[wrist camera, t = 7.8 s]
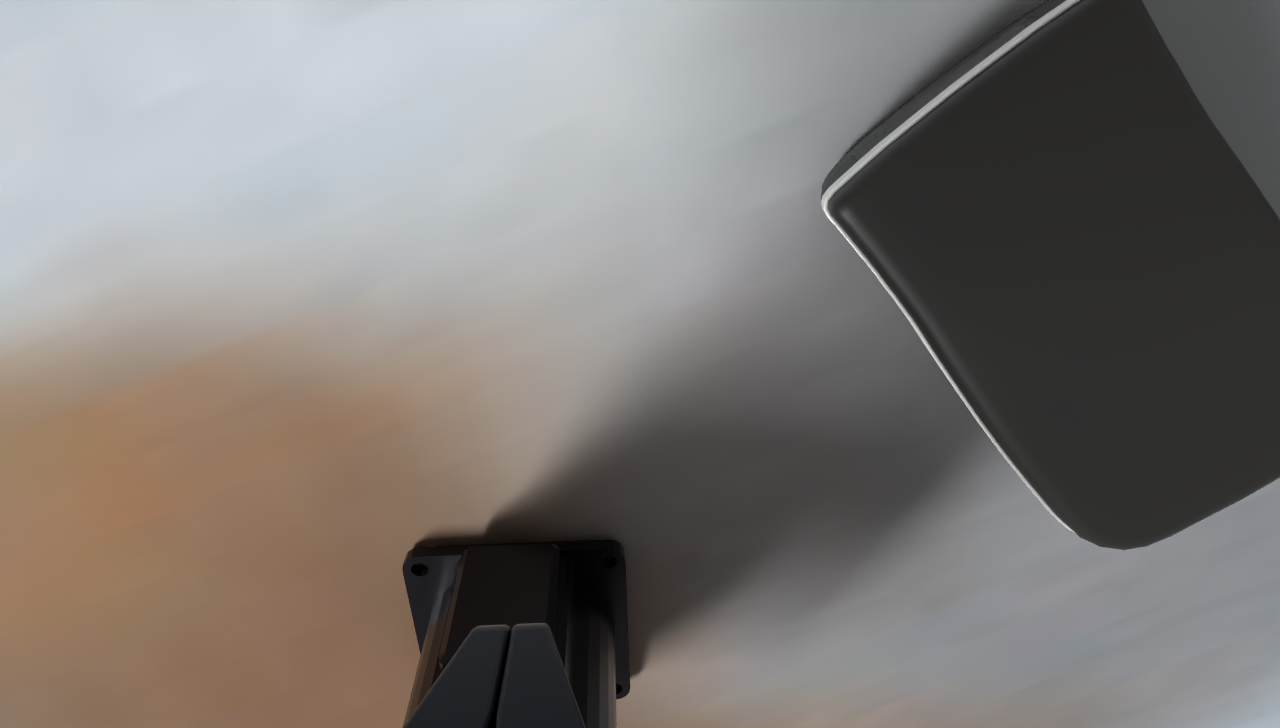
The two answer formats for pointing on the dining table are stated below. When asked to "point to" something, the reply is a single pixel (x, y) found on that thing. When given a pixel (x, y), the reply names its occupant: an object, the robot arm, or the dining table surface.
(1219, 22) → the mat
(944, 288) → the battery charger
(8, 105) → the dining table surface
